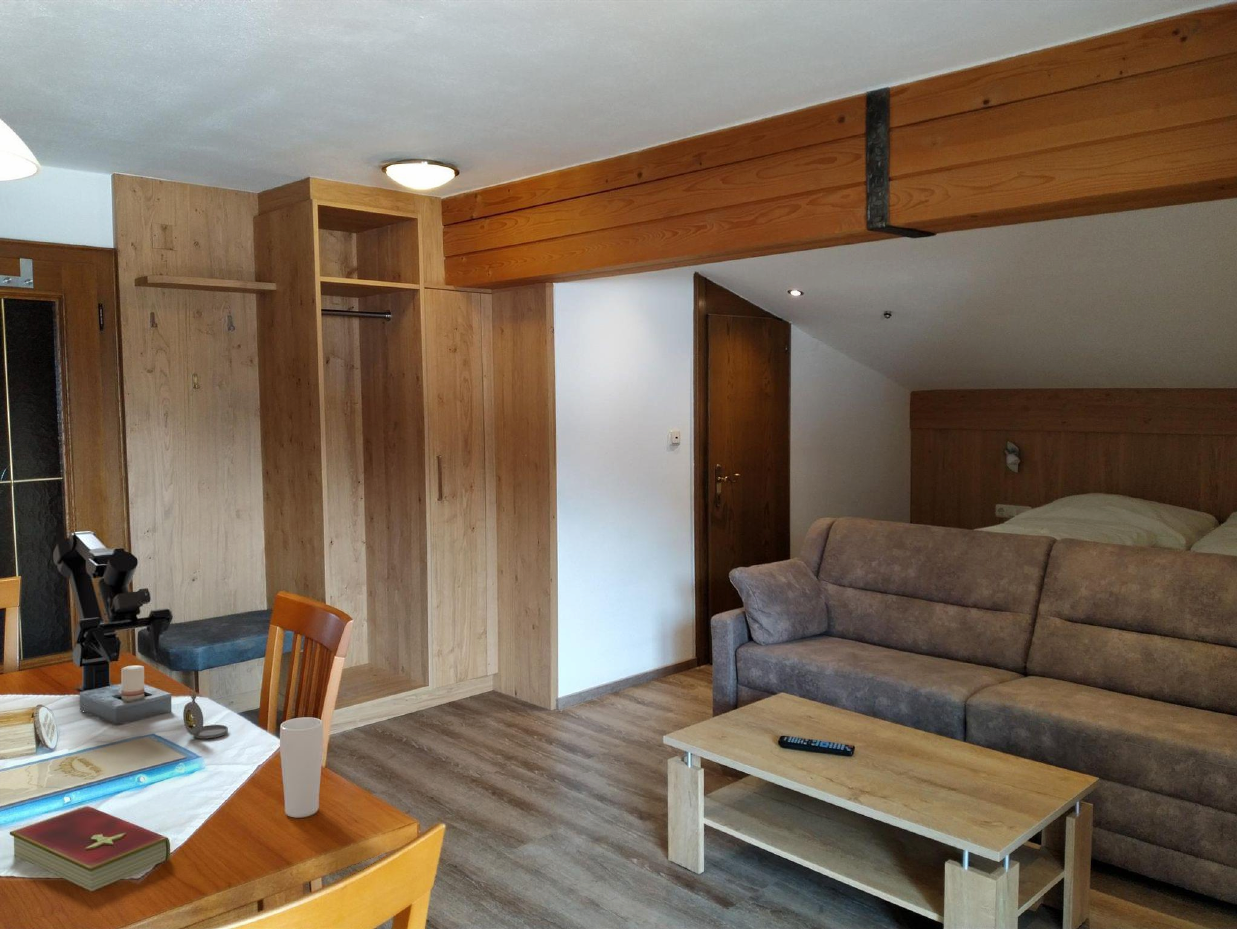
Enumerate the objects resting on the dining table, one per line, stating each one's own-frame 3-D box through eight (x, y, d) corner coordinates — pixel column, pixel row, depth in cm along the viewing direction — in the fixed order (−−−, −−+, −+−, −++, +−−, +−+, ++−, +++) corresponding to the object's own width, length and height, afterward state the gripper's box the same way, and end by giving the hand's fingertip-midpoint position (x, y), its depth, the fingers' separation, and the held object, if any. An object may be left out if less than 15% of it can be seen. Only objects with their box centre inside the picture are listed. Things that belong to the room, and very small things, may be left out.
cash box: (79, 710, 211) (79, 692, 211) (134, 697, 221) (134, 680, 220) (115, 725, 201) (115, 706, 201) (171, 711, 211) (171, 693, 211)
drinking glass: (311, 800, 165) (311, 714, 164) (330, 812, 160) (330, 723, 159) (273, 811, 160) (272, 722, 159) (291, 824, 155) (291, 733, 154)
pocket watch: (233, 730, 200) (233, 682, 199) (212, 744, 191) (212, 694, 191) (196, 728, 201) (195, 680, 200) (173, 742, 192) (173, 692, 192)
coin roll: (116, 715, 208) (116, 669, 207) (133, 709, 212) (133, 664, 212) (132, 718, 206) (132, 671, 206) (149, 711, 211) (149, 666, 210)
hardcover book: (89, 828, 154) (89, 802, 153) (170, 862, 143) (170, 834, 143) (10, 857, 143) (9, 830, 143) (90, 896, 133) (89, 866, 132)
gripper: (77, 582, 204) (94, 643, 197) (169, 572, 217) (188, 629, 210) (67, 612, 210) (83, 673, 203) (157, 602, 223) (175, 658, 216)
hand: (133, 657), depth 208 cm, fingers open, 9 cm apart
